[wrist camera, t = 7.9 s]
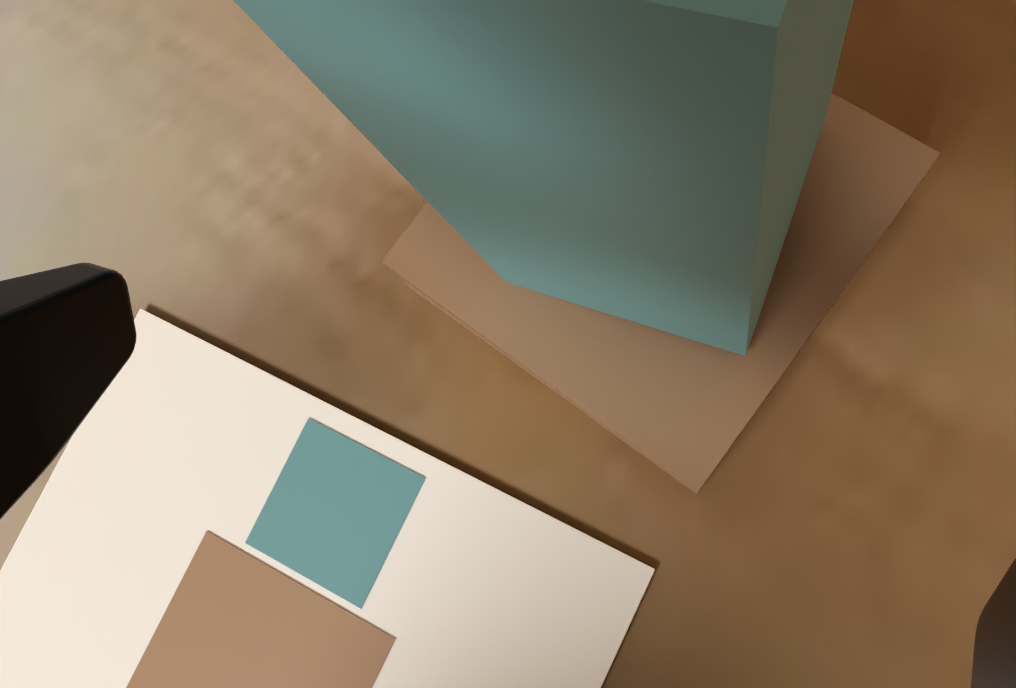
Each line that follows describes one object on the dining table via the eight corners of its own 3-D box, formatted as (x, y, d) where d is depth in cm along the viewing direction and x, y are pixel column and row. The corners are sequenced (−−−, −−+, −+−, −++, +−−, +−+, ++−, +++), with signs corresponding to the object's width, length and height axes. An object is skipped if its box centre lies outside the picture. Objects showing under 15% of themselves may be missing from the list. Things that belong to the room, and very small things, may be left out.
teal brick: (745, 356, 17) (778, 28, 6) (505, 282, 18) (135, -102, 7) (826, 116, 17) (1008, -646, 6) (586, 61, 19) (364, -639, 7)
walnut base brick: (696, 495, 20) (699, 490, 17) (421, 296, 22) (381, 261, 19) (903, 206, 20) (940, 152, 17) (613, 38, 22) (603, -34, 19)
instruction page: (447, 1021, 18) (444, 1026, 18) (-53, 678, 22) (-60, 679, 21) (655, 568, 19) (654, 569, 19) (144, 309, 23) (139, 308, 22)
